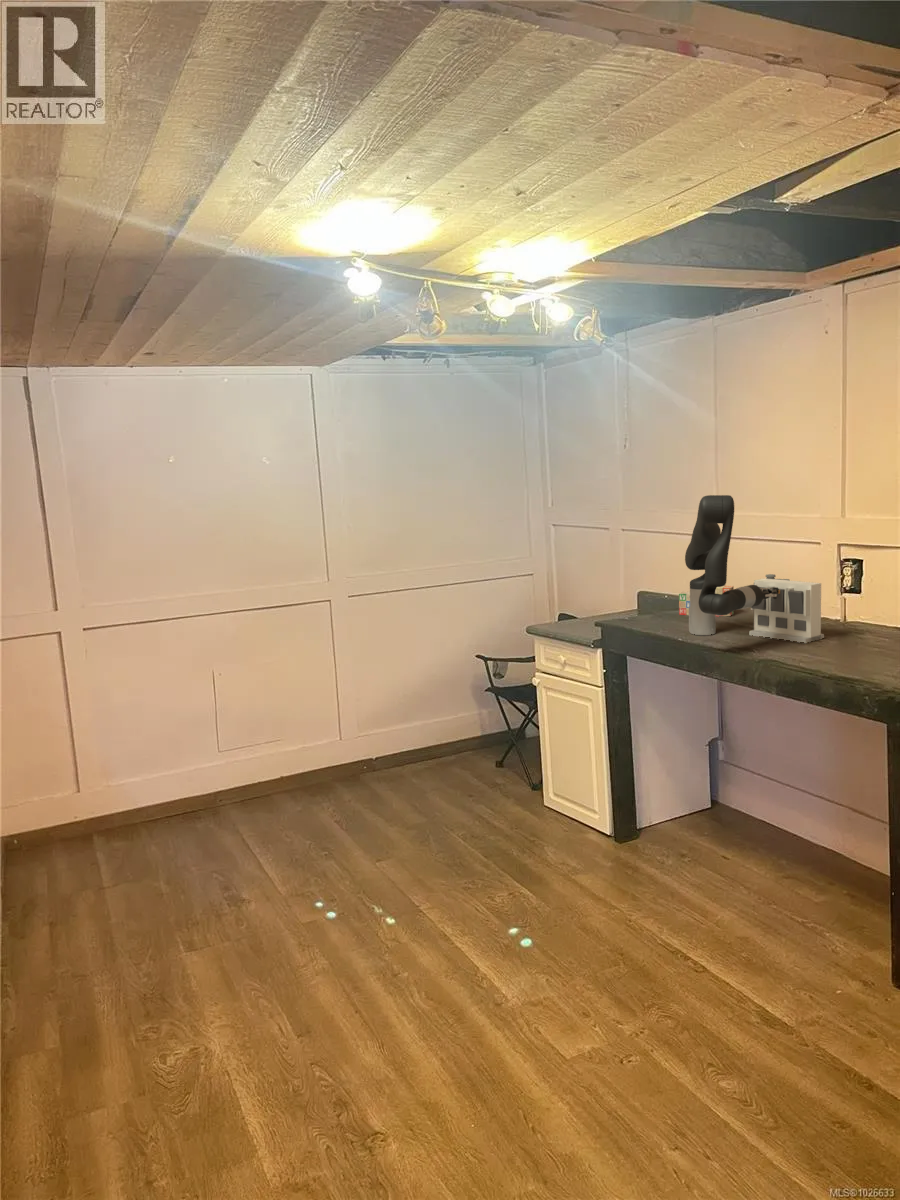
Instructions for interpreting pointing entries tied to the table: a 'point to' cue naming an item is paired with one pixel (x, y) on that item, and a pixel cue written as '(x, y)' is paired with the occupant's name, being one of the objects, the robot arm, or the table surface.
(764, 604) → the rocker switch
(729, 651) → the table surface
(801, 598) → the outlet rocker
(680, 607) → the stack of blocks
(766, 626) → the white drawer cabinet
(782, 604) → the outlet rocker
